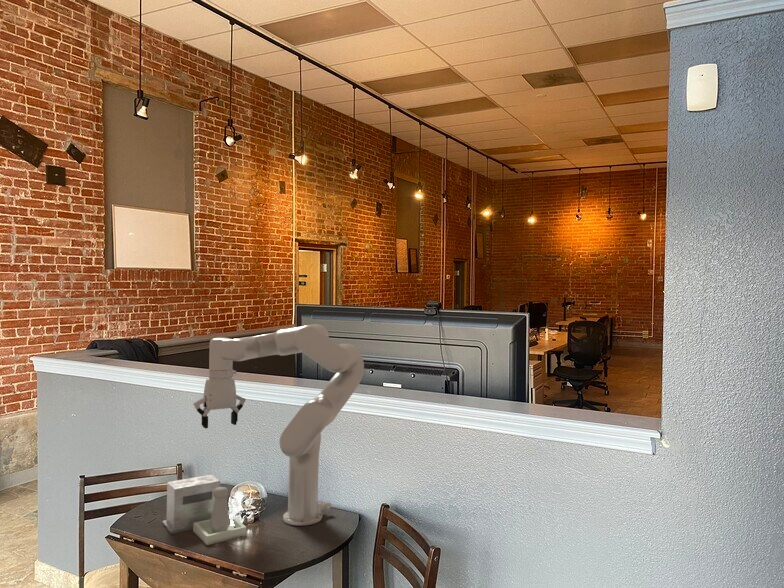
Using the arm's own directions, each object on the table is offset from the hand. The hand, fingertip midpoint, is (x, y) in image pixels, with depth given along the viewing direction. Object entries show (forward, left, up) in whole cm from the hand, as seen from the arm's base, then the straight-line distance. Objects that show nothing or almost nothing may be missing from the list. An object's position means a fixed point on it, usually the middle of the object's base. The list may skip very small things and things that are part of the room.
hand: (219, 425), depth 188 cm
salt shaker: (+6, +18, -28) cm, 34 cm away
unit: (+10, +6, -28) cm, 31 cm away
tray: (+6, +18, -28) cm, 34 cm away
